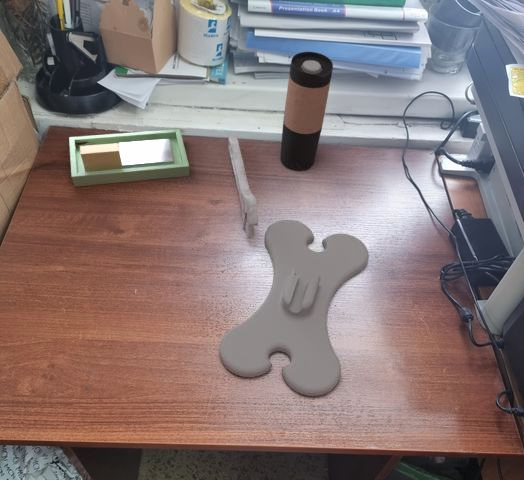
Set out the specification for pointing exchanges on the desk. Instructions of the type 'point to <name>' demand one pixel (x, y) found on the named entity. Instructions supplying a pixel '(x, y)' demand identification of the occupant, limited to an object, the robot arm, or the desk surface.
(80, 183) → the tray
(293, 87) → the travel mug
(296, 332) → the holder
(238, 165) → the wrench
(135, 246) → the desk surface
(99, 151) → the cleaver
